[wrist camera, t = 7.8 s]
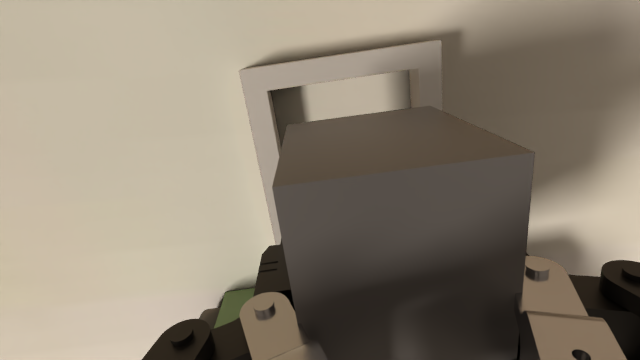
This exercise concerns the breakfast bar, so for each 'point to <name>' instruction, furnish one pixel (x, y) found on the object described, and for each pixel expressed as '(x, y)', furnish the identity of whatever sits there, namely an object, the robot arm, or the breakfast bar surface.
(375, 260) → the grey rectangular block
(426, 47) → the toy tractor
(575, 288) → the robot arm
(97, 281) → the breakfast bar surface
